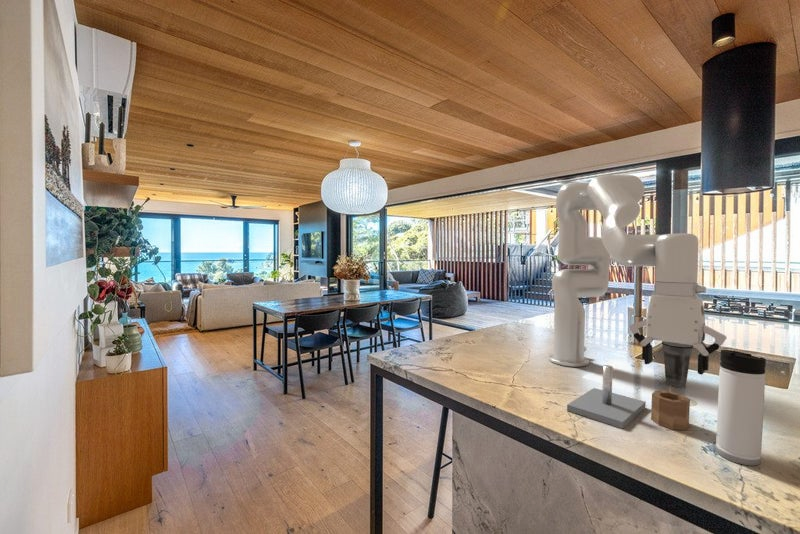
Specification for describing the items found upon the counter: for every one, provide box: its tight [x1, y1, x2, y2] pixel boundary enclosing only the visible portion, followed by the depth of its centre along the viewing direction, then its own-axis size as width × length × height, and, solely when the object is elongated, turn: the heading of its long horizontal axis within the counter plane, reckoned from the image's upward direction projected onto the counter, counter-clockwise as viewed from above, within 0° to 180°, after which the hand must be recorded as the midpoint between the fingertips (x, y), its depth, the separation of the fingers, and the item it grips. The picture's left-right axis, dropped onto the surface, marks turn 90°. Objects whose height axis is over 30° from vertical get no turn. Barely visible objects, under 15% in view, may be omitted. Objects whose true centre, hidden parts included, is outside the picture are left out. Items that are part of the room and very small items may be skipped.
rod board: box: [566, 387, 647, 430], centre depth 91 cm, size 16×12×2 cm
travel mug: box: [715, 349, 767, 467], centre depth 70 cm, size 6×7×20 cm
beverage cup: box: [661, 341, 694, 389], centre depth 106 cm, size 7×7×20 cm
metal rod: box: [601, 364, 614, 405], centre depth 90 cm, size 2×2×9 cm
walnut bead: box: [650, 390, 691, 431], centre depth 84 cm, size 6×6×6 cm
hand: (673, 367), depth 83 cm, fingers open, 9 cm apart
